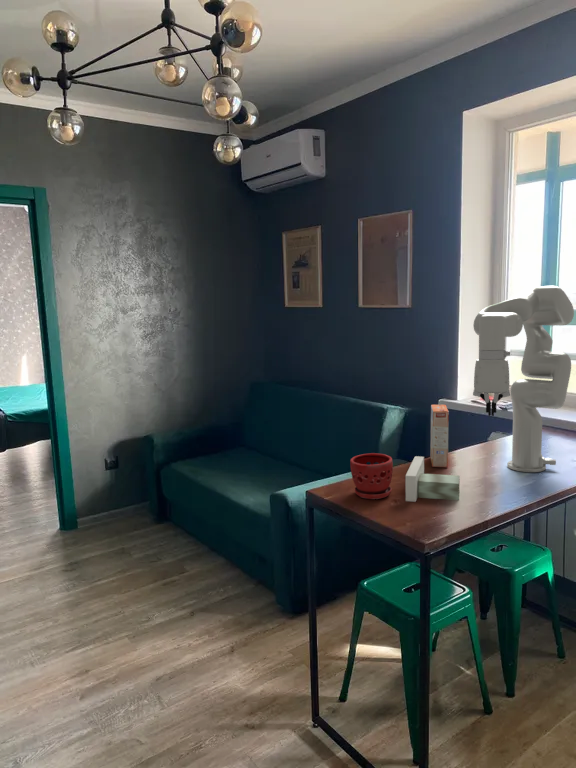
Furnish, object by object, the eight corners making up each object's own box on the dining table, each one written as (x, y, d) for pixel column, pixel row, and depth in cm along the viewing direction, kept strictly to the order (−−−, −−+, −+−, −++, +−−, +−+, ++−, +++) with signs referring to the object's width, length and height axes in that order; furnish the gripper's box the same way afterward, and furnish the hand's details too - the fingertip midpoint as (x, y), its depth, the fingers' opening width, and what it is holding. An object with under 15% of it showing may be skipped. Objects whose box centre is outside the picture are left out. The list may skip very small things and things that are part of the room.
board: (424, 479, 193) (424, 456, 192) (415, 501, 172) (415, 476, 171) (415, 479, 194) (415, 456, 193) (405, 500, 173) (405, 475, 172)
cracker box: (449, 468, 205) (449, 411, 202) (431, 467, 206) (431, 411, 203) (446, 457, 218) (446, 403, 215) (430, 457, 219) (430, 403, 216)
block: (459, 492, 180) (459, 475, 179) (458, 501, 172) (459, 483, 172) (420, 489, 183) (420, 473, 183) (418, 498, 176) (418, 481, 175)
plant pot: (367, 485, 189) (366, 450, 187) (401, 493, 180) (400, 456, 178) (342, 496, 180) (341, 459, 178) (377, 505, 171) (376, 466, 169)
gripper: (518, 354, 173) (516, 413, 176) (466, 354, 178) (466, 411, 181) (519, 356, 166) (517, 418, 169) (465, 357, 171) (465, 416, 174)
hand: (491, 414), depth 175 cm, fingers closed
